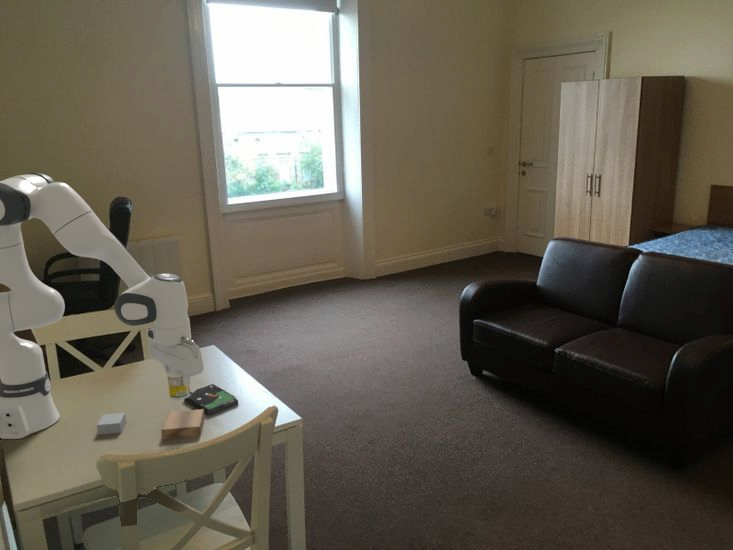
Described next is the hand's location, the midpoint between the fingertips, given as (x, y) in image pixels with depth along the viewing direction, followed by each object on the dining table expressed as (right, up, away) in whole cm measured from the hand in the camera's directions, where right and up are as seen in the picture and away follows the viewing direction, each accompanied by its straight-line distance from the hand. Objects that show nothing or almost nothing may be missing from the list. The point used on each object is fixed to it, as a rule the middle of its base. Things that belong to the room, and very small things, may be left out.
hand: (178, 382), depth 164 cm
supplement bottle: (0, -4, +1) cm, 4 cm away
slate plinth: (-20, -14, +5) cm, 25 cm away
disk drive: (+4, -10, +19) cm, 22 cm away
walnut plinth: (0, -14, +4) cm, 14 cm away
